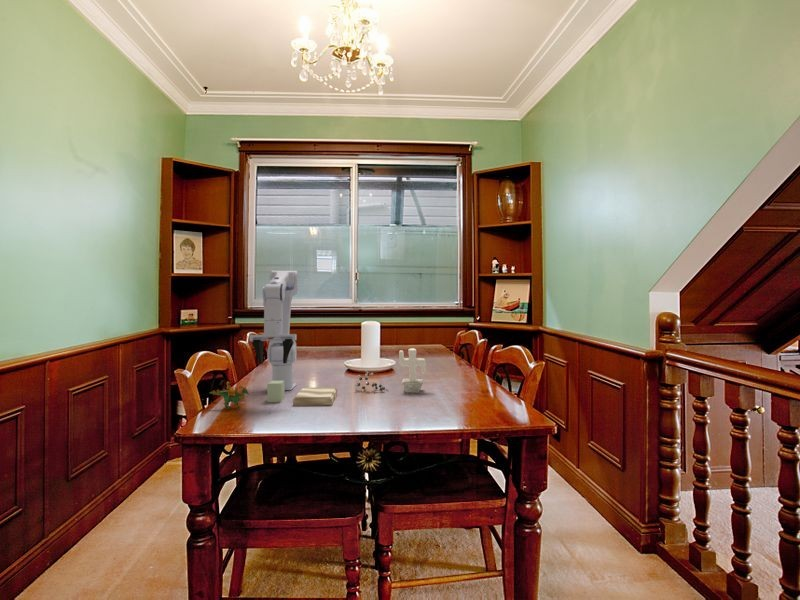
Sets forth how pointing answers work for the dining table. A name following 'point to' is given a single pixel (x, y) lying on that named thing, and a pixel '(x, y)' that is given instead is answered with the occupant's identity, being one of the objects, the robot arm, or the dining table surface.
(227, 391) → the figurine
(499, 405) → the dining table surface
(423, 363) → the figurine
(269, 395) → the sage block
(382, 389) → the molecule model
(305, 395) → the birch base
